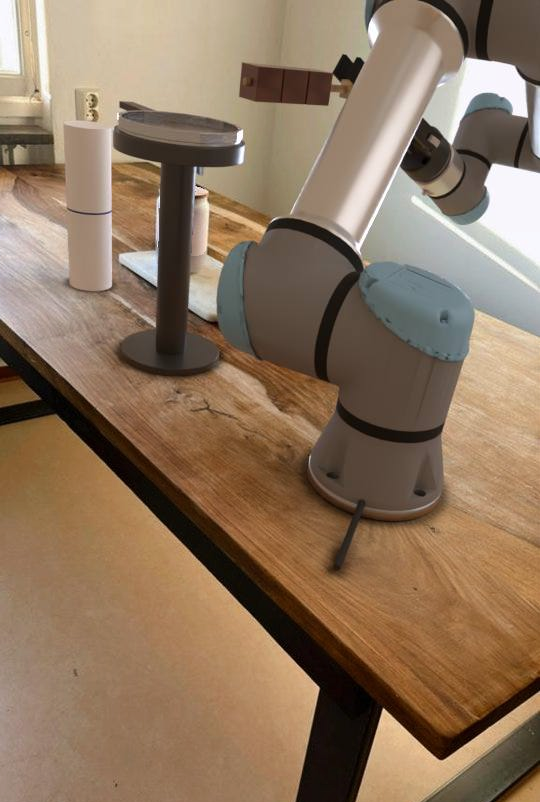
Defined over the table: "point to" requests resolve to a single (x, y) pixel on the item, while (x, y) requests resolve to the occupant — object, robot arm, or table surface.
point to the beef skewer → (289, 85)
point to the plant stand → (174, 226)
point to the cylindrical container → (88, 204)
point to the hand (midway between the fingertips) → (346, 65)
